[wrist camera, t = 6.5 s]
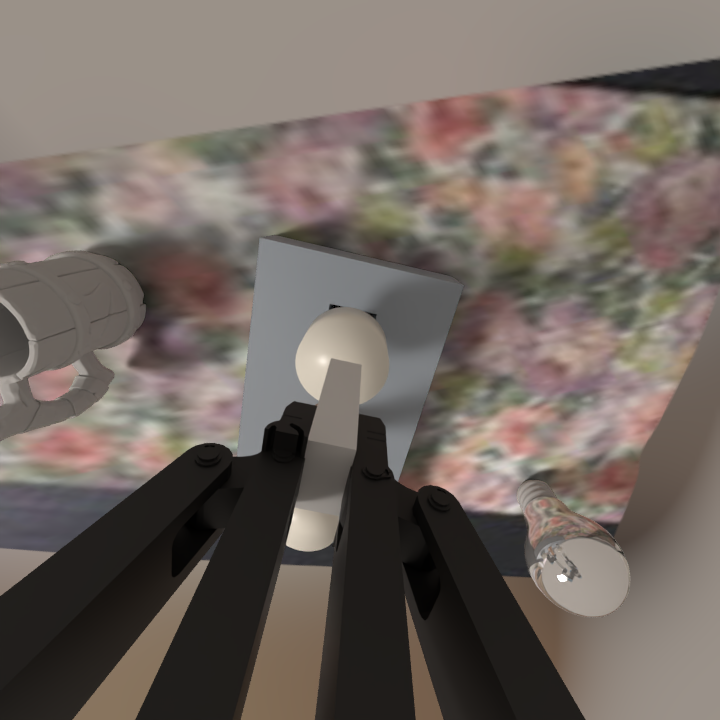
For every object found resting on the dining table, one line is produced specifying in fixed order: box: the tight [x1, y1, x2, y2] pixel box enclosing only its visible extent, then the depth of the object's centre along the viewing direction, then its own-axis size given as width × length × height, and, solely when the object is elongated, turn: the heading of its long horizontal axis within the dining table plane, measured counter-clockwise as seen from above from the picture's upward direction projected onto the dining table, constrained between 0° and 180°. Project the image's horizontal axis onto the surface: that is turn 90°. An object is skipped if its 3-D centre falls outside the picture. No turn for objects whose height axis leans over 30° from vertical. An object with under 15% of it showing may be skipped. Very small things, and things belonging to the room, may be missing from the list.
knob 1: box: [286, 508, 339, 551], centre depth 31 cm, size 5×5×7 cm
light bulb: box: [517, 480, 630, 618], centre depth 29 cm, size 7×7×12 cm
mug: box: [0, 251, 146, 441], centre depth 24 cm, size 8×12×12 cm, turn 176°
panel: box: [237, 235, 464, 543], centre depth 30 cm, size 14×26×4 cm, turn 167°
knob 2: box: [295, 307, 389, 404], centre depth 22 cm, size 5×5×7 cm
